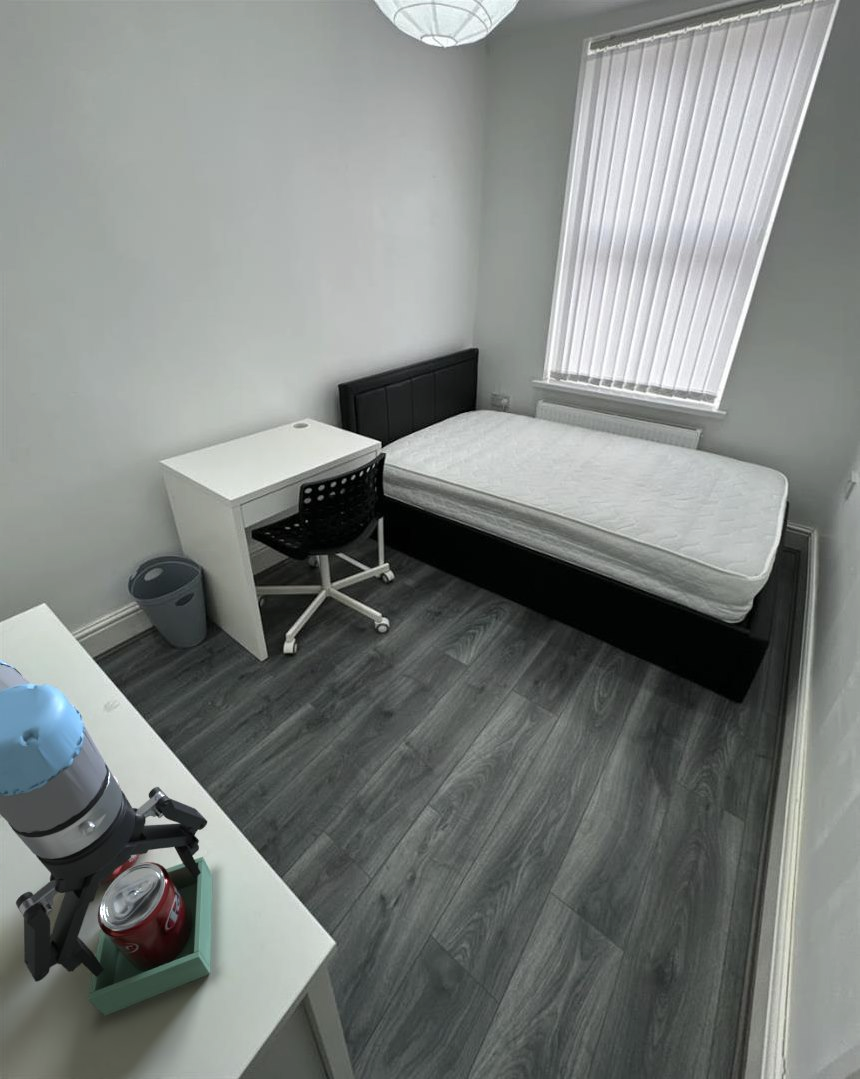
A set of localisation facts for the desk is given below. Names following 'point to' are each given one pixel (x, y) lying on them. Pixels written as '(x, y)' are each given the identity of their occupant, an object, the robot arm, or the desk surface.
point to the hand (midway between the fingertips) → (146, 912)
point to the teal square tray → (132, 985)
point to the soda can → (145, 916)
